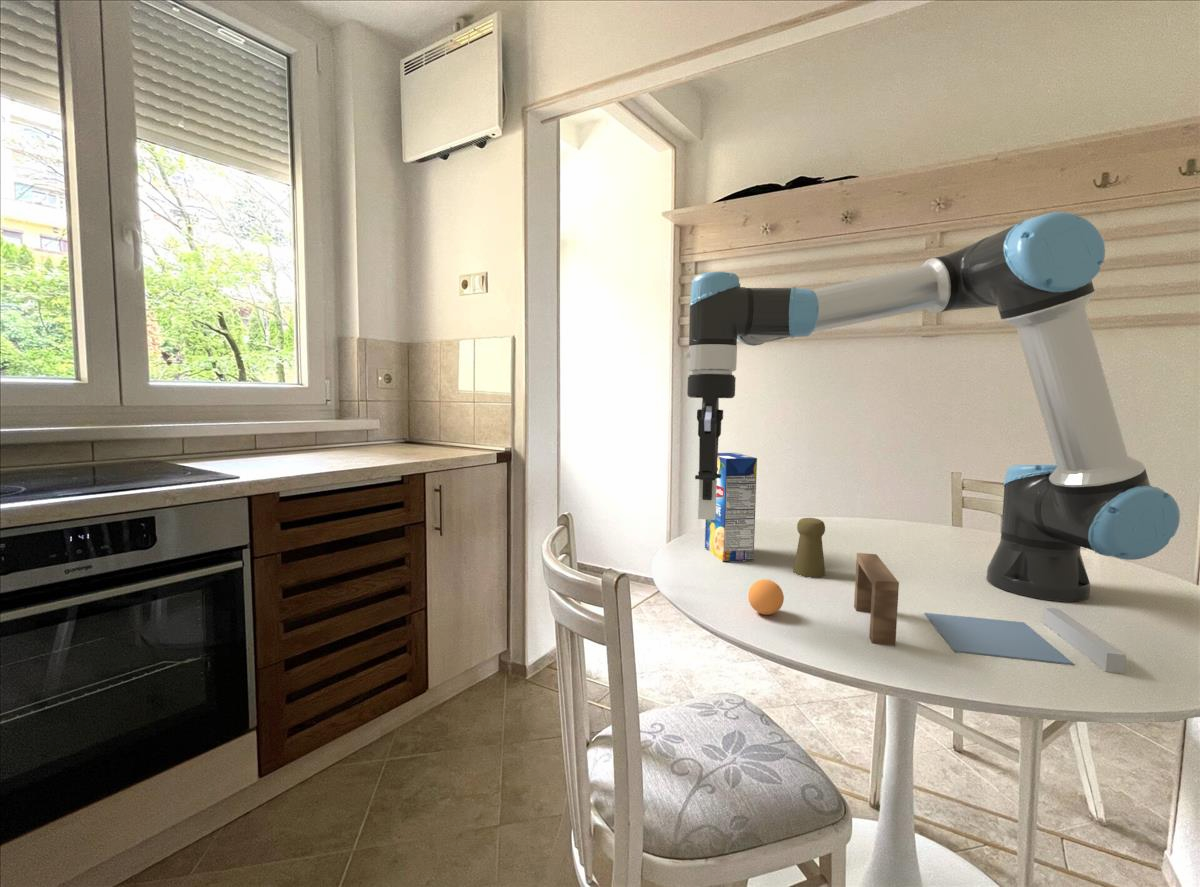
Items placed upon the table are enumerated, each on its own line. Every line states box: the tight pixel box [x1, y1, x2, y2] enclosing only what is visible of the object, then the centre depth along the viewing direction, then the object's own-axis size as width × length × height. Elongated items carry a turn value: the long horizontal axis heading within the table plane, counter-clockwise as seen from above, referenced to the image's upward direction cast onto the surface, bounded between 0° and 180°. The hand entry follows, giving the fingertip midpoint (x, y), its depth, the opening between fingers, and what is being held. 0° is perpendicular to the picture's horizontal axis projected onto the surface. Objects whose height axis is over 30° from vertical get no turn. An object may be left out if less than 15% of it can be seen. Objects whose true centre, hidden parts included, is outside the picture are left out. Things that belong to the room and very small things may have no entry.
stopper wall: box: [1042, 607, 1127, 674], centre depth 80 cm, size 2×16×2 cm, turn 165°
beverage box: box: [704, 452, 758, 562], centre depth 124 cm, size 7×11×22 cm, turn 10°
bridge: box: [853, 552, 900, 647], centre depth 87 cm, size 3×14×9 cm, turn 165°
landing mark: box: [923, 612, 1075, 666], centre depth 83 cm, size 14×14×1 cm
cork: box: [792, 517, 826, 579], centre depth 111 cm, size 6×6×11 cm
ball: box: [747, 578, 785, 616], centre depth 91 cm, size 6×6×6 cm
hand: (706, 518), depth 92 cm, fingers closed
